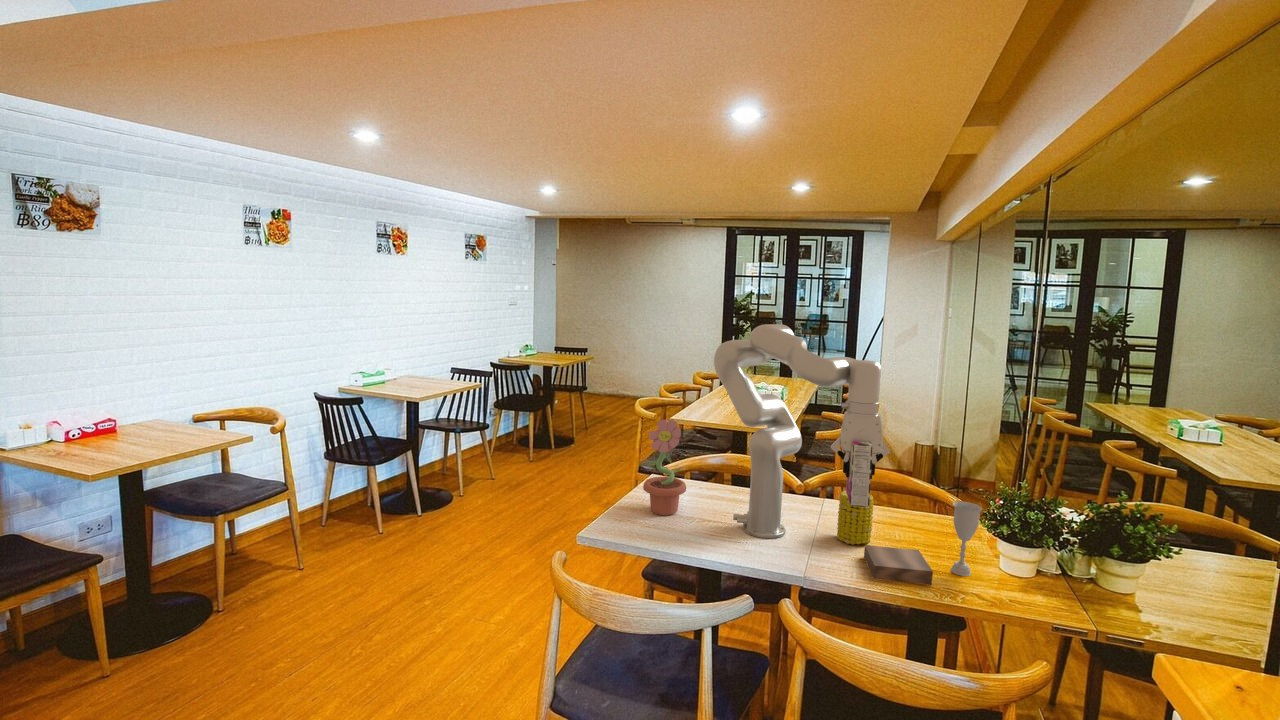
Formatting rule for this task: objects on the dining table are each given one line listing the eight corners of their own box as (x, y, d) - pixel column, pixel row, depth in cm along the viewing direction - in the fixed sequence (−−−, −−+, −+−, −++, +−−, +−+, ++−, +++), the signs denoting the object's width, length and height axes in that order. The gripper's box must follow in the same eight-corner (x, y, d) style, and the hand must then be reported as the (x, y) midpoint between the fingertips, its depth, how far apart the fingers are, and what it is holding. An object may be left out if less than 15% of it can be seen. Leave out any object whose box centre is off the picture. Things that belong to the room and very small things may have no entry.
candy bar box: (844, 492, 170) (848, 433, 168) (863, 494, 169) (868, 434, 167) (848, 506, 159) (852, 442, 157) (869, 508, 158) (873, 444, 156)
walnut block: (873, 580, 159) (874, 565, 159) (863, 558, 172) (864, 544, 171) (931, 586, 157) (932, 571, 157) (917, 564, 170) (918, 550, 169)
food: (837, 548, 181) (840, 538, 190) (879, 547, 176) (881, 536, 185) (828, 496, 181) (832, 488, 190) (871, 494, 176) (872, 485, 186)
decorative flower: (631, 511, 200) (634, 420, 196) (654, 500, 211) (658, 413, 208) (670, 523, 192) (674, 427, 188) (693, 510, 203) (697, 420, 199)
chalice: (974, 580, 160) (981, 513, 158) (945, 573, 164) (951, 507, 162) (976, 570, 166) (983, 505, 164) (948, 563, 170) (954, 499, 168)
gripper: (830, 408, 159) (825, 478, 161) (900, 413, 156) (895, 483, 158) (827, 403, 167) (823, 470, 168) (894, 407, 163) (889, 475, 165)
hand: (858, 476), depth 163 cm, fingers closed on candy bar box, 5 cm apart
